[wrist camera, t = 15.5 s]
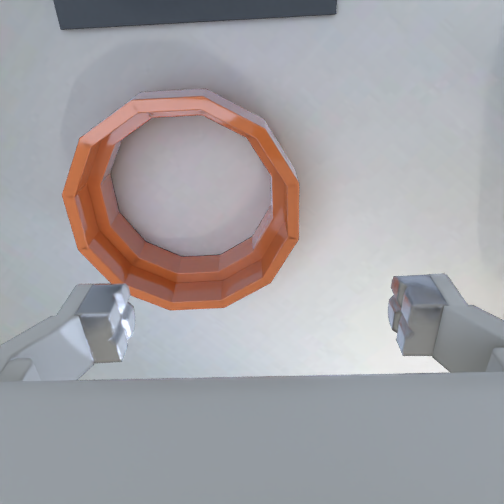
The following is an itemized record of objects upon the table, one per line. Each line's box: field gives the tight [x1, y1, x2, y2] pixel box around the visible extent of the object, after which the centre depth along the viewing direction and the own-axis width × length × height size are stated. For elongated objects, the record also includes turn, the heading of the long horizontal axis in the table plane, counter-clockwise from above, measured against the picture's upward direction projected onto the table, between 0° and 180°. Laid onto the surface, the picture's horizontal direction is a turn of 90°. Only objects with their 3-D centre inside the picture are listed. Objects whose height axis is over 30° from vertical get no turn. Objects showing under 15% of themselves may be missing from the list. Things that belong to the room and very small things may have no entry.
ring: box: [62, 89, 299, 310], centre depth 35 cm, size 18×18×6 cm
